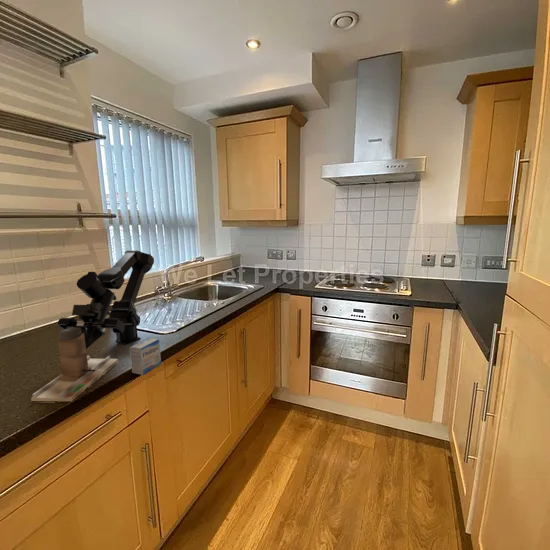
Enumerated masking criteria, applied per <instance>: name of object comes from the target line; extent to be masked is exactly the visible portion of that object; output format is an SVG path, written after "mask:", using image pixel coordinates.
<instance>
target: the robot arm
mask: <svg viewBox="0 0 550 550" xmlns="http://www.w3.org/2000/svg"><path fill="white" fill-rule="evenodd" d="M154 263H155V258H154V257H153V256H152V255H151V254H150V253H145V252H142V251H140V250H138V249H128V250H125V251H124V254H123V255H122V257H120V258H119V259H118V261H116V263H115V264H114V265H113V266H112V267H109V268H108V269H104V270H103V271H102V272H100V273H99V274H97V272H96V271H88V272H87V274H84V275H82V276H81V277H80V278H78V279H77V282H76V286H77V288H78V289H79V290H80V291H81V292H83V293H84V295H86V296H87V297H88V298H89V299H91V300H90V303H87V304H73V306H72V307H73V308H72V312H71V315H72V317H61V318H59V319H58V321H57V323H56V326H58V327H59V328H60V329H62V330H65V329H68V328H81V332H82V333H84V338H85V346H86V350H87V349H88V348H89V347H91V346H92V345H93V344H94V343H95V342H96V341H97V340H98V339H100V338H101V337H102V336H106V333H105V331H106V330H107V329H112V330H111V331H112V332H113V333H114V334H115V335H116V336H115V337H116V338H115V342H118V343H120V344H123V345H127V344H128V345H129V344H130V343H133V342H136V341H138V340H141V337H140V336H138V326H140V323H141V317H140V315H139V314H137V309H136V305H135V303H136V300H137V298H138V294H139V291H140V289H141V286H142V282H143V280H144V276H145V275H146V274H147V273H149V272H150V271H151V270H152V267H153V265H154ZM130 269H132V270H131V272H130V275H129V278H128V281H127V283H126V286H125V288H124V291H123V293H122V296H121V299H120V300H117V296H116V295H115V292H113V291H112V290H119V289H121V288H122V286H123V284H124V283H125V275H127V273H128V272H129V271H130ZM112 302H113V303H112ZM111 305H112V306H111ZM110 307H111V308H110ZM73 316H76V317H77V316H78V319H79V320H77V319H76V318H74V317H73ZM107 316H108V317H107Z"/></svg>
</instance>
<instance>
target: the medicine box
mask: <svg viewBox="0 0 550 550" xmlns="http://www.w3.org/2000/svg"><path fill="white" fill-rule="evenodd" d="M129 355H130V361H131V362H130V364H131V373H132V374H136V375H140V376H145V375H146V374H148V373H150V372H151V371H152V370H154V369H155V368H157V367H159V366H160V365H162V359H161V358H162V357H161V345H160V339H158V338H154V337H148V338H146V339H144V340H142V341H140V342H137V343H136V344H134V345H132V346H129Z"/></svg>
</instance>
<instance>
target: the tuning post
mask: <svg viewBox="0 0 550 550" xmlns="http://www.w3.org/2000/svg"><path fill="white" fill-rule="evenodd" d="M58 334H59V338H57V347H58V352H59V357H60V359H59V360H60V366H61V367H60V368H61V372H62V373H61V374H63V375H62V376H60V380H70V381H77V380H78V379H79V378H81V377H82V376H83V375H84V374H86V373H87V372H88V371H93V372H94V371H95V370H91V367H88V361H87V356H88V355H87V349H86V346H85V338H84V333H82V332H81V328H68V329H65V330H63V329H62V330H60V331H59V332H58Z"/></svg>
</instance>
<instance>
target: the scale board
mask: <svg viewBox="0 0 550 550" xmlns="http://www.w3.org/2000/svg"><path fill="white" fill-rule="evenodd" d="M87 361H88V367H91V370H95V371H94V372H93V371H88V372H87V373H86V374H84V375H83V376H82V377H81V378H79V379H78V380H77V381H70V380H60V376H62V375H63V374H62V373H61V374H60V375H58V376H56V377H55V378H54V379H52V380H51V381H50V382H48V383H47V384H45V385H43V386H42V387H41V388H39V389H37V391H35V392H34V393H32V394H31V395H32V396H31V402H32V401H72V400H73V399H75V398H76V397H77V396H78V395H79V394H80V393H81V392H83V391H84V390H85V389H86V388H87V387H89V386H90V385H91V384H92V383H94V382H95V381H96V380H97V379H98V380H100V379H101V378H102V377H103V376H104V375H106V374H107V373H108V372H109V371H110V370H111V369H112V368H113V367H115V366H116V365H117V364H119V359H118V358H111V355H108V356H107V357H105V358H91V356H90V355H87ZM114 365H115V366H114ZM108 370H109V371H108ZM107 371H108V372H107ZM106 372H107V373H106ZM102 375H103V376H102ZM101 376H102V377H101ZM100 377H101V378H100ZM99 378H100V379H99ZM98 380H97V381H98ZM97 381H96V382H97ZM96 382H95V383H96ZM95 383H94V384H95ZM91 386H92V385H91ZM91 386H90V387H91ZM90 387H89V388H90ZM84 392H85V391H84ZM84 392H83V393H84ZM77 398H78V397H77ZM77 398H76V399H77ZM76 399H75V400H76Z"/></svg>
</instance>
